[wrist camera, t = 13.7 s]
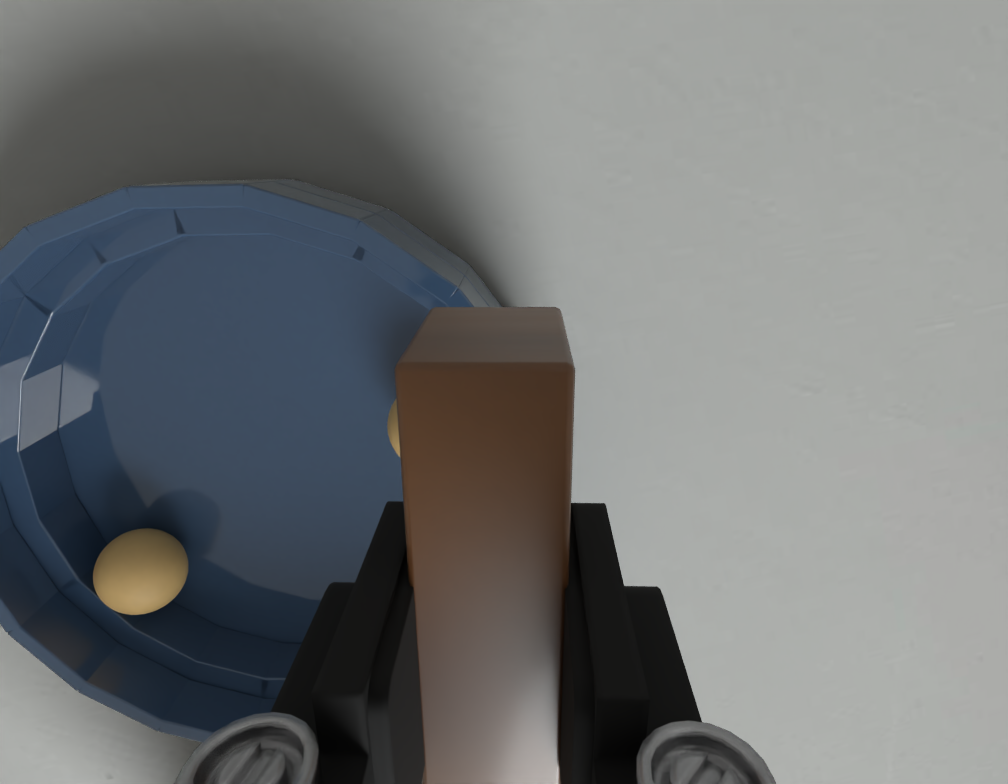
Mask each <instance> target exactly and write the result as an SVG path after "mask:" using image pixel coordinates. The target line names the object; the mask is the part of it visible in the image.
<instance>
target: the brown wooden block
mask: <svg viewBox="0 0 1008 784" xmlns="http://www.w3.org/2000/svg"><path fill="white" fill-rule="evenodd" d="M394 372H395V386H396V401H397V416H398V431H399V446H400V461H401V475H402V490H403V505H404V520H405V535H406V550H407V564H408V579H409V584H410V586H412V587H414V601H415V617H416V633H417V649H418V665H419V681H420V697H421V712H422V728H423V744H424V760H425V766H424V772H423V778H422V784H561V781H560V742H561V710H562V677H563V645H564V613H565V588H567V586H568V582H569V550H570V518H571V486H572V454H573V422H574V390H575V368H574V364H573V359H572V355H571V351H570V347H569V343H568V339H567V334H566V330H565V326H564V322H563V318H562V314H561V311H560V309H558V308H556V307H435V308H432V309H431V310H430V312H429V313H428V315H427V316H426V318H425V320H424V321H423V323H422V324H421V326H420V327H419V329H418V331H417V332H416V334H415V335H414V337H413V339H412V340H411V342H410V343H409V345H408V347H407V348H406V350H405V351H404V353H403V354H402V356H401V358H400V359H399V361H398V362H397V364H396V367H395V370H394Z"/></svg>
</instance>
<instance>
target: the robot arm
mask: <svg viewBox="0 0 1008 784" xmlns="http://www.w3.org/2000/svg"><path fill="white" fill-rule="evenodd" d="M424 766H425V760H424V744H423V728H422V712H421V697H420V681H419V665H418V649H417V633H416V617H415V601H414V587H412V586H410V584H409V579H408V564H407V550H406V535H405V520H404V505H403V501H388V502H387V503H386V505H385V508H384V510H383V513H382V515H381V518H380V520H379V523H378V525H377V528H376V531H375V533H374V536H373V538H372V541H371V543H370V546H369V548H368V551H367V553H366V556H365V558H364V561H363V563H362V566H361V569H360V571H359V574H358V576H357V579H356V581H355V582H333V583H331V584H329V586H328V588H327V589H326V591H325V593H324V595H323V597H322V600H321V602H320V604H319V606H318V608H317V611H316V613H315V615H314V617H313V619H312V622H311V624H310V626H309V628H308V630H307V633H306V635H305V637H304V639H303V641H302V644H301V646H300V648H299V650H298V652H297V655H296V657H295V659H294V661H293V663H292V666H291V668H290V670H289V672H288V674H287V677H286V679H285V681H284V683H283V685H282V688H281V690H280V692H279V694H278V696H277V699H276V701H275V703H274V705H273V707H272V710H271V712H269V713H260V714H253V715H250V716H247V717H244V718H241V719H238V720H235V721H233V722H231V723H229V724H228V725H226V726H224V727H222V728H221V729H219V730H217V731H215V732H214V733H213V734H212V735H210V736H209V737H208V738H207V739H206V740H205V741H204V742H202V743H201V744H200V745H199V746H198V747H197V748H196V749H195V751H194V752H193V754H192V755H191V756H190V758H189V759H188V760H187V762H186V763H185V765H184V766H183V768H182V770H181V772H180V774H179V775H178V777H177V779H176V781H175V783H174V784H422V778H423V772H424ZM560 781H561V784H776V782H775V780H774V777H773V776H772V774H771V772H770V770H769V769H768V767H767V765H766V763H765V762H764V760H763V759H762V758H761V757H760V756H759V755H758V753H757V752H756V751H755V750H754V749H753V748H752V747H751V746H750V745H749V744H748V743H746V742H745V741H743V740H742V739H740V738H739V737H737V736H736V735H734V734H733V733H731V732H730V731H727V730H725V729H722V728H720V727H717V726H715V725H712V724H709V723H703V722H702V721H701V718H700V714H699V711H698V708H697V705H696V701H695V698H694V695H693V692H692V688H691V685H690V682H689V679H688V676H687V672H686V669H685V666H684V663H683V659H682V656H681V653H680V650H679V646H678V643H677V640H676V637H675V634H674V630H673V627H672V624H671V621H670V617H669V614H668V611H667V608H666V604H665V601H664V598H663V595H662V593H661V590H660V589H659V588H658V587H645V586H624V584H623V579H622V575H621V571H620V566H619V562H618V557H617V553H616V549H615V544H614V540H613V535H612V531H611V526H610V522H609V518H608V513H607V509H606V505H605V504H604V503H571V518H570V550H569V582H568V586H567V588H565V613H564V645H563V677H562V710H561V742H560Z"/></svg>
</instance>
